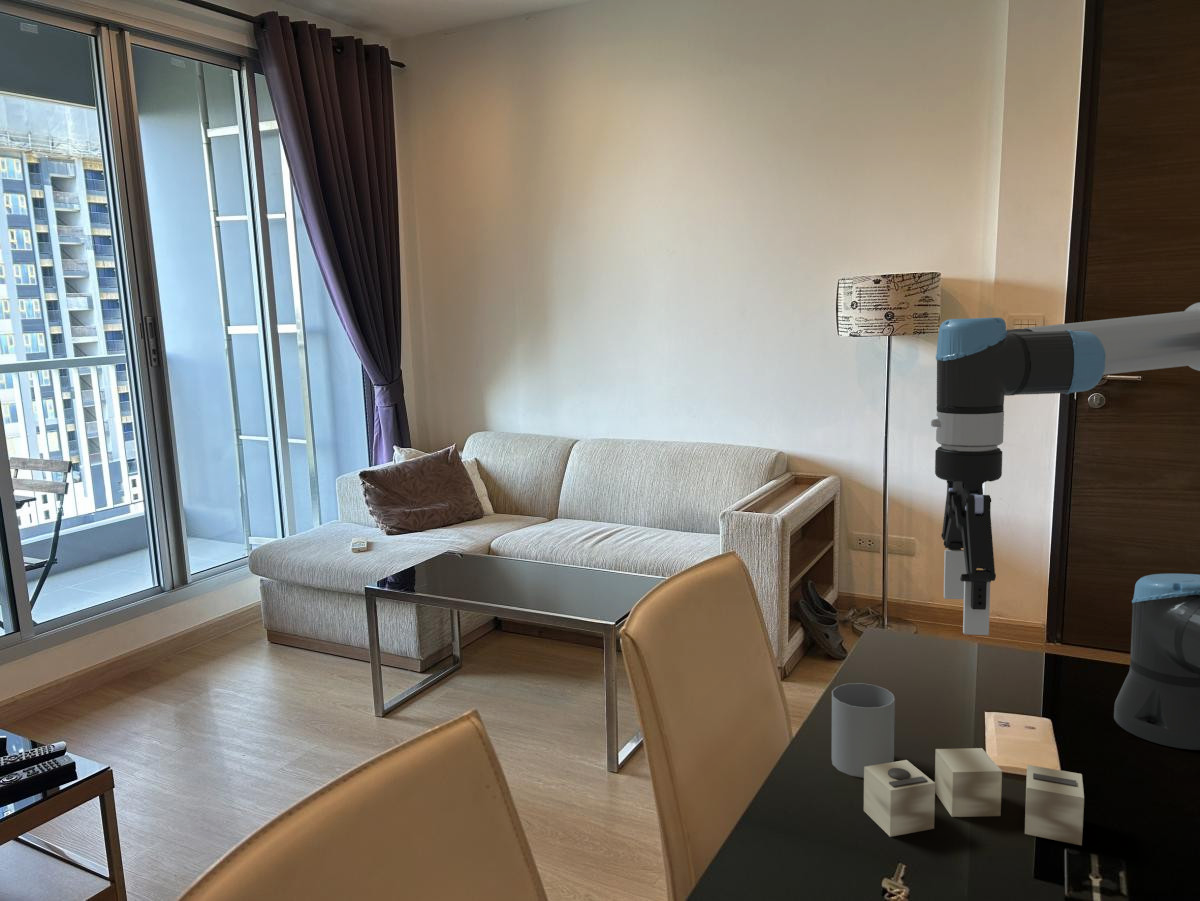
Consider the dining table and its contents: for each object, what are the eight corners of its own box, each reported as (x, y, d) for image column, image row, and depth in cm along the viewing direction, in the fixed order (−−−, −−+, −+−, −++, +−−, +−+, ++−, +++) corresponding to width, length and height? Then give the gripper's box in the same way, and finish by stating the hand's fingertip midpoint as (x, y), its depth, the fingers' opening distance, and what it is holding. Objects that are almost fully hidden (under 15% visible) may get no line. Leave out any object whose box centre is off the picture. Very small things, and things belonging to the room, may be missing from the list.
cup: (896, 780, 118) (897, 709, 117) (833, 776, 120) (833, 706, 119) (889, 750, 127) (890, 684, 125) (830, 747, 128) (830, 681, 127)
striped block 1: (905, 803, 113) (906, 758, 112) (934, 829, 107) (935, 781, 106) (863, 811, 111) (864, 765, 110) (890, 837, 106) (890, 788, 105)
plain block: (980, 791, 115) (982, 748, 114) (1000, 816, 109) (1002, 771, 108) (934, 792, 115) (935, 749, 114) (951, 817, 109) (952, 772, 109)
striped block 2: (1079, 819, 108) (1081, 772, 107) (1081, 846, 103) (1084, 796, 102) (1025, 809, 111) (1027, 763, 110) (1024, 834, 105) (1026, 785, 104)
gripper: (921, 433, 120) (919, 585, 122) (954, 462, 95) (950, 649, 98) (980, 433, 118) (976, 586, 121) (1028, 462, 94) (1022, 652, 97)
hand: (964, 615), depth 110 cm, fingers open, 13 cm apart
